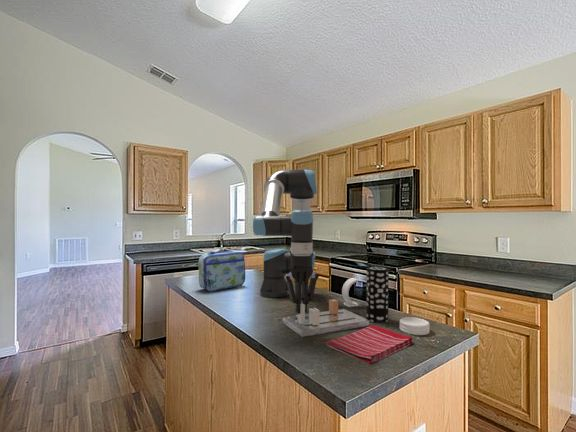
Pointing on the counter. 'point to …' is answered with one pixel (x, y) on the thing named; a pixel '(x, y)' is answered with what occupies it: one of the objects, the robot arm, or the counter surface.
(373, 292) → the white-spotted black cylinder
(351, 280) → the headphone stand
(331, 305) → the fader terracotta
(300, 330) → the console
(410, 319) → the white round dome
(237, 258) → the lunch box
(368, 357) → the dish towel
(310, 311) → the fader cream
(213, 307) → the counter surface
